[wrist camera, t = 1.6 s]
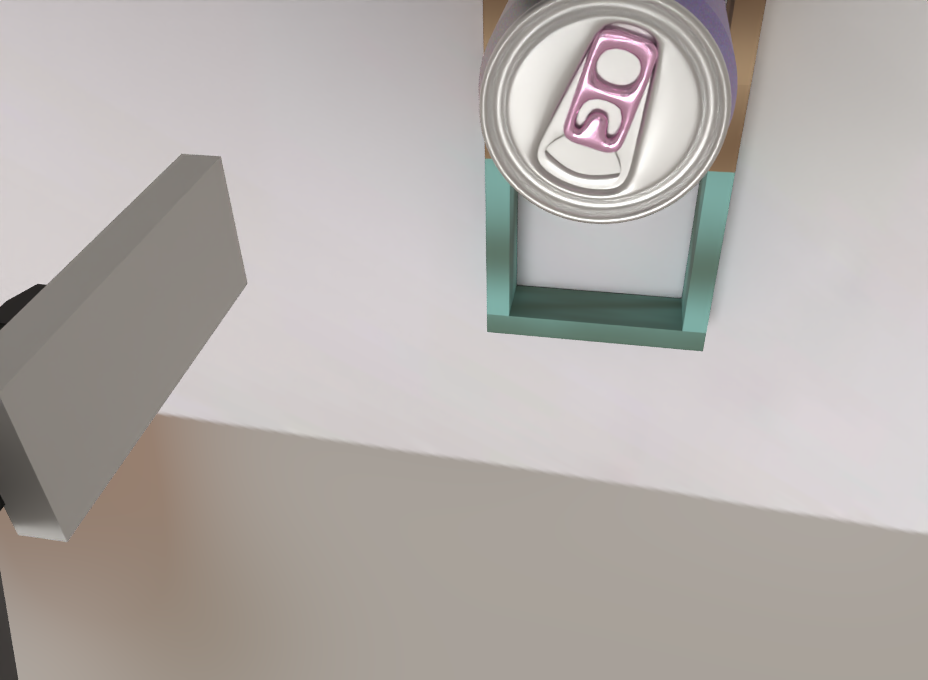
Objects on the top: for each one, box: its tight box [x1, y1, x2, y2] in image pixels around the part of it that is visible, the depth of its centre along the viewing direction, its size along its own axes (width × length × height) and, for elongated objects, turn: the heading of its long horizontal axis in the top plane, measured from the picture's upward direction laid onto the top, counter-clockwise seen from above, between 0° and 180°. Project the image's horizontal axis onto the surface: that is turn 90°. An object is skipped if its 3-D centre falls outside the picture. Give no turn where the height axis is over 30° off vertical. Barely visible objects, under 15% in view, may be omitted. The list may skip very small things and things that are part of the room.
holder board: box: [483, 0, 766, 351], centre depth 33 cm, size 21×10×2 cm, turn 1°
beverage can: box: [479, 0, 737, 224], centre depth 25 cm, size 6×6×15 cm
